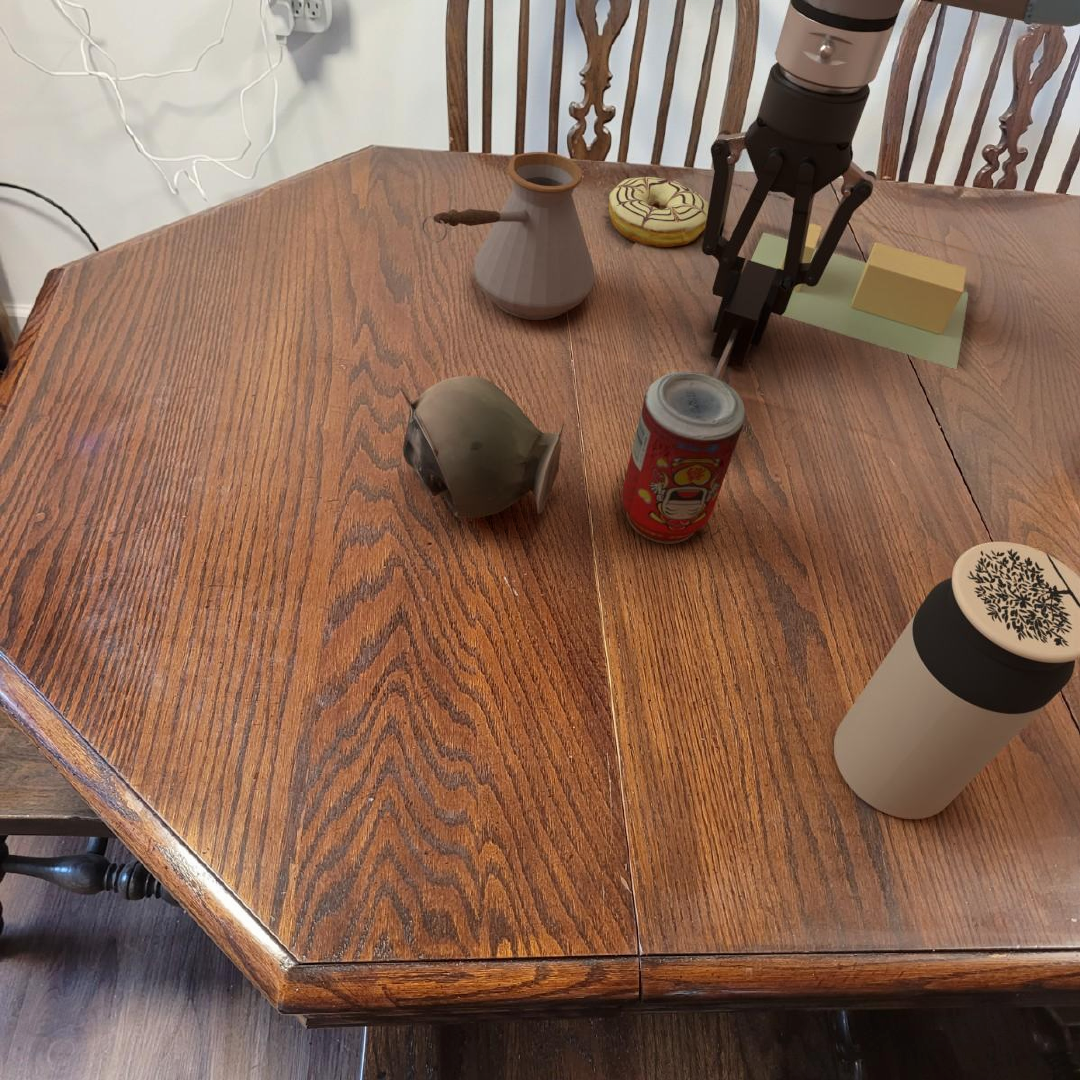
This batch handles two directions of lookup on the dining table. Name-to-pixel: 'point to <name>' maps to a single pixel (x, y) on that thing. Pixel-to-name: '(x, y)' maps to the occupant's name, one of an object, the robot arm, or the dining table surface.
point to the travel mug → (962, 679)
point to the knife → (742, 315)
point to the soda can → (680, 454)
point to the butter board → (834, 312)
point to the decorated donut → (657, 211)
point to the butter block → (909, 288)
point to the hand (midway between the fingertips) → (738, 330)
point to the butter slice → (808, 247)
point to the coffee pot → (532, 240)
